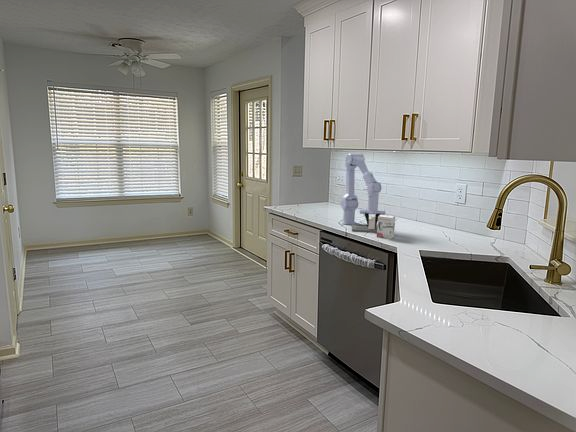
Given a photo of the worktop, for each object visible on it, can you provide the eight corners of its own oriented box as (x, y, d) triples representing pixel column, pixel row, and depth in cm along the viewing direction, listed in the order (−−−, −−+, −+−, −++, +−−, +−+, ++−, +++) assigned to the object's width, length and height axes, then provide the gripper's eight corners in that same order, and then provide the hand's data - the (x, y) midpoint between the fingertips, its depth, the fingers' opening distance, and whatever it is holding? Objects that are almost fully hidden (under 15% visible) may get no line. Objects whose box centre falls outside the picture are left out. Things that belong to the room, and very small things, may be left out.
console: (351, 225, 251) (351, 223, 250) (383, 227, 248) (383, 225, 248) (351, 231, 234) (352, 229, 234) (385, 233, 231) (385, 231, 231)
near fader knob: (368, 227, 239) (368, 218, 238) (374, 227, 239) (374, 219, 238) (368, 229, 235) (369, 220, 234) (374, 229, 234) (375, 220, 233)
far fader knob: (370, 224, 248) (371, 216, 247) (376, 224, 247) (376, 216, 246) (370, 226, 243) (371, 217, 242) (376, 226, 243) (377, 218, 242)
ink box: (376, 237, 222) (377, 215, 220) (378, 235, 226) (380, 214, 224) (392, 239, 218) (393, 217, 216) (394, 237, 222) (395, 216, 220)
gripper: (360, 203, 231) (358, 227, 234) (386, 205, 229) (384, 228, 232) (360, 202, 238) (358, 224, 240) (385, 203, 236) (383, 226, 238)
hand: (371, 226), depth 236 cm, fingers closed on near fader knob, 3 cm apart
